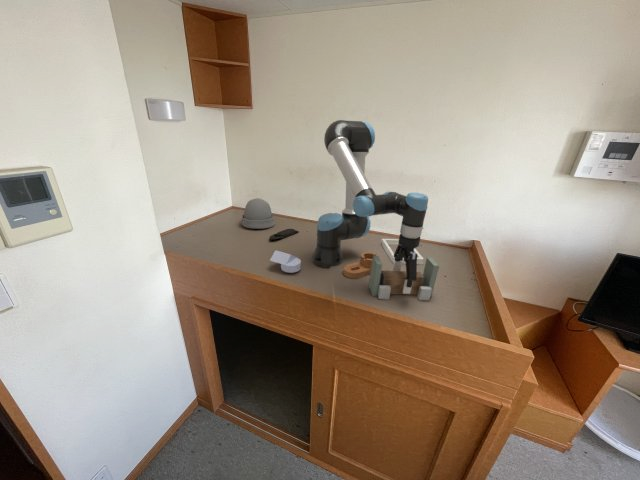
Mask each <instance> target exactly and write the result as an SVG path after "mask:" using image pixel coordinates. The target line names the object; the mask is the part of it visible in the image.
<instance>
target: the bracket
mask: <svg viewBox="0 0 640 480" xmlns="http://www.w3.org/2000/svg"><path fill="white" fill-rule="evenodd" d="M373 256H378V257H379V258H380V256H379V255H377V253H375V252H369V251H366V252H362V253H361V254H360V260H359V261H357V262H353V263H350V264H346V265H344V266H343V276H345V277H346V278H349V279H353V280H355V279H360V278H363V277H366V276H369V275H370V274H371V267H372V260H373Z"/></svg>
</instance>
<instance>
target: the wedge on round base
mask: <svg viewBox="0 0 640 480" xmlns="http://www.w3.org/2000/svg"><path fill="white" fill-rule="evenodd" d="M269 261H270V262H274V263H276V264H280V268H281V271H283V272H284V273H292V274H293V273H297V272H299V271H300V270H301V267H302V266H301V265H302V260H301V259H300V258H298V257H296V256H294V255H293V254H290V253H286V252H283V251H280V250H274V252H273V254H272V256H271V257H270V259H269Z"/></svg>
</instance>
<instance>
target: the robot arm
mask: <svg viewBox="0 0 640 480" xmlns="http://www.w3.org/2000/svg"><path fill="white" fill-rule="evenodd" d="M375 134H376V131H375V129H374V128H373V126H372V125H371V124H370V123H369V122H366V121H362V120H361V121H360V120H344V119H340V120H335V121H333V122H331V123H330V124H329V126H328V127H327V128H326V130H325V133H324V146H325V149H326V152H327V153H328V155H330V156H332V157H333V160H334V161H335V163H336V165H337V167H338V169H339V171H340V173H341V175H342V177H343V178H344V180H345V202H344V203H345V204H344V205H345V208H344V209H343V210H342V211H341V213H337V212H334V213H333V212H328V213H325V214H322V215H320V217H319V218H318V220H317V224H316V228H317V229H316V231H317V233H316V246H315V248H314V251H313V253H312V259H311V260H312V263H313V264H314V265H316V266H319V267H322V268H333V267H336V266H340V265H341V264H342V263H343V261H344V256H343V253H342V248H341V245H342V241H344V240H347V241H348V240H352V239H359V238H360V239H361V238H363V237H365V236H366V235H367V234H368V233H369V231H370V230H371V219H370V217H371V216H373V217H374V216H378V215H379V216H380V215H389V214H396V215H398V216H401V217H402V220H401V226H400V231H399V232H400V234H399V236H398V239H399V244H398V245H396V246H397V247H396V249H395V251H394V252H393V253H394V257H395V260H396V261H395V264H394V265H393V270H392V271H401V268H402V265H403V264H402V262H401V261H403V258H404V261H405V262H406V264H405V271H406V274H407V278H405V283H404V288H403V294H402V295H411V294H410V292H411V287H412V283H413V281H416V280H417V272H418V271H417V269H418V268H417V267H418V266H417V265H418V264H417V254H414V248H415V249H416V248H418V247H419V246H420V243H421V236H422V233H423V232H422V231H423V230H424V221H425V219H426V218H425V217H426V214H427V210H428V203H429V197H428V195H426V194H424V193H420V192H409V193H407V194H406V195H404V194H401V193H399V192H395V191H390V190H387V191H385V192H384V193H383V194H376V193H375V191H374V189H373V188H372V186H371V184H370V182H369V181H368V178H367V177H366V175H365V170H366V169H365V168H366V167H365V166H366V157H367V155H369V152H370V149H372V148H373V146H374V144H375V141H376V135H375Z"/></svg>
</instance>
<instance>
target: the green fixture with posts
mask: <svg viewBox="0 0 640 480" xmlns="http://www.w3.org/2000/svg"><path fill="white" fill-rule="evenodd" d="M378 256H379V255H376V256H373V260H372V267H371V274H369V275H370V277H369V284H368V287H369V290H370V293H371V295H372V296H377V298H378V300H390V295H391V294H390V291H391V288H390V286H387V285H379V283H380V277H381V271H382V269H383V263H382V261H381V259H380V256H379V257H378ZM425 259H426V261H425V264H424V268H423V272H422V275H423V276H424V281H423V286H420V288H419V292H418V295H417V298H418V299H417V300H418V301H430V298H431V297H433V292H434V288H435V285H436V280H437V277H438V272H439V268H440V265H439V264H438V263H437V262H436V260H434V258H433V257H426V258H425Z"/></svg>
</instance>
